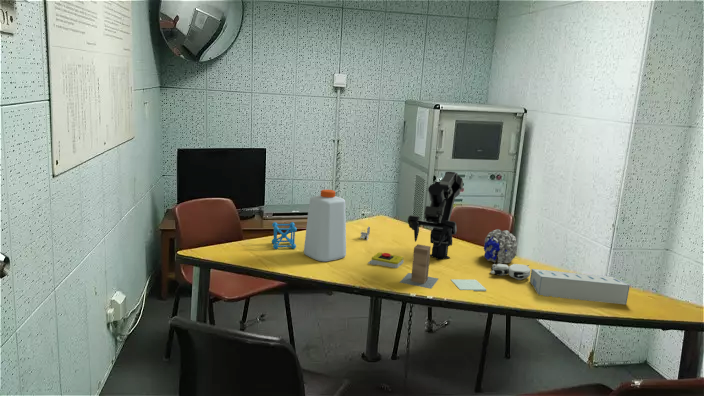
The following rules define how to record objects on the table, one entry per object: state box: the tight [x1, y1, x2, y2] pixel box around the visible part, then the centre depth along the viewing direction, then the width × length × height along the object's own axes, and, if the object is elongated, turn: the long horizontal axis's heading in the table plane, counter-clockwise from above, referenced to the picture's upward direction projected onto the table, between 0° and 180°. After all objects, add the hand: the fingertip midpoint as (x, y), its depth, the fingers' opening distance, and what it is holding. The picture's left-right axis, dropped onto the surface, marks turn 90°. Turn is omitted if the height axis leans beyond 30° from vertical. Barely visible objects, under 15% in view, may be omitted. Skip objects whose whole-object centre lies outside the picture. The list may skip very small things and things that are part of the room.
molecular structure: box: [271, 221, 298, 250], centre depth 217 cm, size 10×10×10 cm
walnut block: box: [411, 243, 432, 284], centre depth 183 cm, size 5×5×13 cm
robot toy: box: [489, 263, 531, 281], centre depth 197 cm, size 12×4×15 cm
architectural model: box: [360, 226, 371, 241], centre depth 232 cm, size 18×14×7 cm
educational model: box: [483, 228, 518, 264], centre depth 216 cm, size 14×20×15 cm
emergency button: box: [367, 252, 404, 269], centre depth 203 cm, size 9×4×15 cm
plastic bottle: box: [303, 189, 347, 263], centre depth 205 cm, size 15×15×28 cm
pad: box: [450, 278, 487, 292], centre depth 183 cm, size 10×10×1 cm
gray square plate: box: [399, 272, 439, 289], centre depth 185 cm, size 12×12×1 cm
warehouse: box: [529, 268, 630, 305], centre depth 183 cm, size 30×14×8 cm, turn 83°
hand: (426, 243), depth 189 cm, fingers open, 9 cm apart
